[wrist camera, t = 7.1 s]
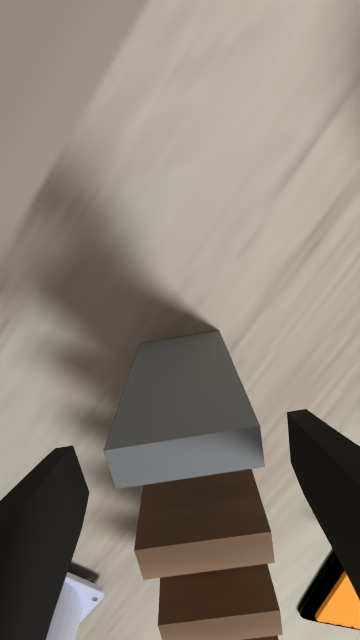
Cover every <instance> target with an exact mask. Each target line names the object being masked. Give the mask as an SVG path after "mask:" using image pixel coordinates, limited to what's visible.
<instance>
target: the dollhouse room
mask: <svg viewBox="0 0 360 640" xmlns="http://www.w3.org/2000/svg"><path fill="white" fill-rule="evenodd" d="M298 610H299V613H300V616H301V617H302V618H304V619H307V620H311V621H315V622H320V623H325V624H331V625H336V626H341V627H347V628H352V629H357V630H360V600H359V598H358V596H357V594H356V592H355V590H354V588H353V586H352V584H351V582H350V580H349V578H348V576H347V574H346V572H345V570H344V569H343V567H342V565H341V563H340V561H339V559H338V557H337V556H336V554H335V552H334V550H333V552H332V553H331V555H330V556H329V558H328V560H327V561H326V563H325V564H324V566H323V567H322V569H321V571H320V572H319V574H318V575H317V577H316V578H315V580H314V582H313V583H312V585H311V587H310V588H309V590H308V591H307V593H306V595H305V596H304V598H303V600H302V602H301V603H300V606H299V609H298Z"/></svg>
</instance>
